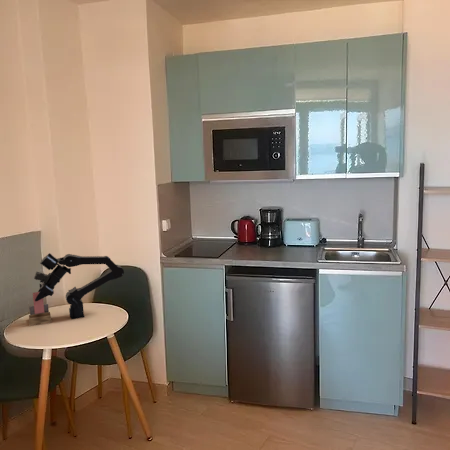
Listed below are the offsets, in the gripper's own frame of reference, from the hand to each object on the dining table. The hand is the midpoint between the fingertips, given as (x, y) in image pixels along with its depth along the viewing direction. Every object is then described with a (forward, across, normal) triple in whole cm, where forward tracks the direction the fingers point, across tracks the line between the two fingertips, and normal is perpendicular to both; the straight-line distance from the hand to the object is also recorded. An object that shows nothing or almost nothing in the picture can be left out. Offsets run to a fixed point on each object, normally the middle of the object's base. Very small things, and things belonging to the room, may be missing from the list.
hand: (35, 299), depth 233 cm
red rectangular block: (+4, 0, +6) cm, 7 cm away
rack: (+7, -2, +9) cm, 12 cm away
